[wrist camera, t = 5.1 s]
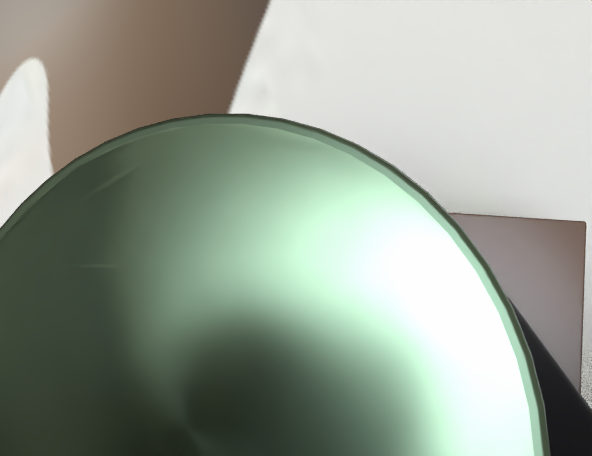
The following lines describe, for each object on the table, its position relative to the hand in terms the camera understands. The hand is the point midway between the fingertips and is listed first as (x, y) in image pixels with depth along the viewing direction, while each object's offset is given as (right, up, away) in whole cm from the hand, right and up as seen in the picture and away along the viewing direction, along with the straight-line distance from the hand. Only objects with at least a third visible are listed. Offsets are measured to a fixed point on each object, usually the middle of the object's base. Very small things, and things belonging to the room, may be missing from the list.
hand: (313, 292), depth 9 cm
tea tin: (+1, -2, +4) cm, 4 cm away
